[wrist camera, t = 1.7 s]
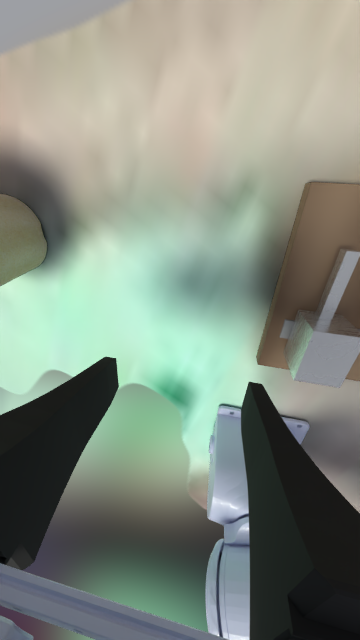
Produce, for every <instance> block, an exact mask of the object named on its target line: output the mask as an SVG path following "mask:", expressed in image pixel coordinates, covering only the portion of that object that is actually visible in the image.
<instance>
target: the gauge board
mask: <svg viewBox="0 0 360 640" xmlns="http://www.w3.org/2000/svg"><path fill="white" fill-rule="evenodd" d="M340 249H349V250H356V251H359V252H360V185H357V184H338V183H320V182H310V183H307V184H305V187H304V191H303V194H302V198H301V201H300V205H299V208H298V212H297V215H296V219H295V222H294V226H293V229H292V233H291V236H290V240H289V243H288V247H287V251H286V254H285V258H284V261H283V265H282V268H281V272H280V275H279V279H278V282H277V286H276V289H275V293H274V296H273V300H272V303H271V307H270V310H269V314H268V317H267V321H266V324H265V328H264V331H263V335H262V338H261V342H260V346H259V349H258V353H257V356H256V357H257V362H258V365H264V366H270V367H276V368H282V369H288V370H290V369H289V367H288V364H287V362H286V359H285V357H284V354H283V352H284V349H285V347H286V344H287V341H288V338H289V335H290V332H291V330H292V327H293V324H294V321H295V318H296V315H297V313H298V310H306V311H314V312H316V310H317V307H318V305H319V302H320V300H321V297H322V295H323V292H324V290H325V287H326V285H327V282H328V279H329V277H330V274H331V272H332V269H333V267H334V264H335V262H336V259H337V257H338V254H339V252H340ZM334 314H337V315H343V316H344V317H345V318H346V319H347V320H348V321H349V322H350V323H351V324H352V325H353V326H354V327H355V328H357V329H358V330H359V331H360V257H359V259H358V261H357V264H356V266H355V268H354V270H353V273H352V275H351V277H350V279H349V282H348V284H347V286H346V288H345V291H344V293H343V295H342V297H341V300H340V302H339V304H338V306H337V309H336V311H335V313H334ZM345 379H350V380H356V381H360V353H359V354H358V356H357V358H356V360H355V362H354V363H353V365H352V367H351V369H350V371H349V372H348V374H347V376H346V378H345Z"/></svg>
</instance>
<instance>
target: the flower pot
mask: <svg viewBox="0 0 360 640" xmlns="http://www.w3.org/2000/svg"><path fill="white" fill-rule="evenodd" d="M46 252H47V242H46V240H45V238H44V236H43V232H42V228H41V223H40V221H39V220H38V218H37V217H36V215H35V214H34V213H33V212H32V210H31V209H30V208H29V207H28V206H26V205H25V204H24V203H22V202H21V201H20V200H18V199H16V198H14V197H12V196H9V195H5V194H0V286H2V285H4V284H6V283H7V282H9V281H11V280H13V279H15V278H17V277H19V276H21V275H23V274H25V273H26V272H28V271H30V270H32V269H34V268H36V267H38V266H39V265H40V264H41V263H42V262H43V261H44V259H45V256H46Z"/></svg>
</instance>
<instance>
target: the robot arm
mask: <svg viewBox="0 0 360 640" xmlns="http://www.w3.org/2000/svg"><path fill="white" fill-rule="evenodd" d="M118 387H119V385H118V374H117V364H116V358H110V357H104V358H103V359H101V360H99V361H98V362H96V363H95V364H93V365H92V366H90V367H89V368H87V369H86V370H84V371H83V372H81V373H80V374H78V375H76V376H75V377H73V378H72V379H70V380H69V381H67V382H65V383H64V384H62V385H60V386H58V387H57V388H55V389H53V390H52V391H50V392H48V393H46V394H45V395H43V396H41V397H39V398H37V399H35V400H33V401H31V402H29V403H27V404H25V405H22V406H20V407H18V408H16V409H13V410H11V411H9V412H6V413H4V414H2V415H0V563H1V564H0V605H1V606H4V607H6V608H9V609H12V610H15V611H18V612H20V613H23V614H26V615H29V616H32V617H35V618H37V619H40V620H43V621H46V622H48V623H51V624H54V625H56V626H60V627H62V628H65V629H68V630H70V631H73V632H76V633H79V634H81V635H84V636H87V637H90V638H93V639H95V640H360V513H359V512H358V511H357V510H356V509H355V508H354V507H353V506H352V505H351V504H350V503H349V502H348V501H347V500H346V499H345V498H344V497H343V495H342V494H341V493H340V492H339V491H338V490H337V489H336V488H335V487H334V486H333V484H332V483H331V482H330V481H329V480H328V479H327V478H326V477H325V475H324V474H323V473H322V472H321V471H320V470H319V468H318V467H317V466H316V465H315V463H314V462H313V461H312V460H311V458H310V457H309V456H308V455H307V453H306V452H305V451H304V449H303V448H302V447H301V443H302V441H303V439H304V437H305V435H306V433H307V431H308V429H309V424H308V423H307V422H305V421H301V420H296V419H290V418H285V417H281V416H280V414H279V413H278V411H277V409H276V408H275V406H274V404H273V403H272V401H271V399H270V397H269V396H268V394H267V392H266V390H265V388H264V387H263V385H262V384H259V383H253V382H249V383H248V387H247V390H246V394H245V397H244V401H243V404H242V408H241V409H238V408H233V407H228V406H220V407H219V408H218V412H217V417H216V422H215V426H214V431H213V435H211V437H210V445H209V453H210V467H209V483H208V500H207V515H208V516H207V517H208V519H210V520H212V521H215V522H217V523H219V524H221V525H223V526H224V539H220V540H218V541H217V543H216V544H215V547H214V549H213V552H212V554H211V556H210V560H209V563H208V569H207V576H206V614H207V624H208V630H209V633H208V632H204V631H202V630H199V629H195V628H193V627H190V626H186V625H183V624H181V623H178V622H175V621H171V620H169V619H166V618H162V617H160V616H157V615H153V614H150V613H147V612H144V611H141V610H138V609H135V608H132V607H129V606H126V605H123V604H120V603H117V602H114V601H111V600H108V599H105V598H102V597H99V596H96V595H93V594H90V593H87V592H84V591H81V590H78V589H75V588H72V587H69V586H66V585H63V584H60V583H57V582H54V581H51V580H48V579H45V578H42V577H39V576H36V575H33V574H30V573H26V572H24V571H21V570H23V569H25V568H27V567H28V566H30V565H31V564H32V563H33V562H34V561H35V558H36V556H37V553H38V551H39V548H40V546H41V543H42V541H43V538H44V536H45V533H46V531H47V529H48V526H49V524H50V521H51V519H52V517H53V514H54V512H55V510H56V507H57V505H58V503H59V501H60V498H61V496H62V494H63V492H64V489H65V487H66V485H67V483H68V481H69V479H70V476H71V474H72V472H73V470H74V468H75V466H76V464H77V462H78V460H79V458H80V456H81V454H82V452H83V450H84V448H85V446H86V445H87V443H88V441H89V440H90V438H91V436H92V435H93V433H94V431H95V430H96V428H97V426H98V425H99V423H100V421H101V420H102V418H103V416H104V415H105V413H106V411H107V410H108V408H109V406H110V405H111V403H112V400H113V398H114V396H115V394H116V392H117V389H118ZM3 564H5V565H3ZM6 565H7V566H6ZM9 566H10V567H9ZM12 567H13V568H12ZM15 568H16V569H15ZM18 569H19V570H18ZM0 640H33V636H32V635H30V634H28V633H26V632H25V631H23V630H22V629H20V628H19V627H18V626H16V625H15V624H14V622H13V621H11V620H9V619H7V618H4V617H2V616H0Z"/></svg>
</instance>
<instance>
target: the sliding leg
mask: <svg viewBox="0 0 360 640" xmlns="http://www.w3.org/2000/svg"><path fill="white" fill-rule="evenodd" d="M359 257H360V252H359V251H356V250H349V249H340V252H339V254H338V257H337V259H336V262H335V264H334V267H333V269H332V272H331V274H330V277H329V279H328V282H327V285H326V287H325V290H324V292H323V295H322V297H321V300H320V302H319V305H318V307H317V310H316V312H314V311H306V310H298V313H297V315H296V318H295V321H294V324H293V327H292V330H291V332H290V335H289V338H288V341H287V344H286V347H285V349H284V352H283V354H284V357H285V359H286V362H287V364H288V367H289V369H290V372H291V375H292V377H293V380H296V381H302V382H308V383H314V384H320V385H326V386H332V387H338V388H340V387H341V385H342V383H343V381H344V380H345V378H346V376H347V374H348V372H349V371H350V369H351V367H352V365H353V363H354V362H355V360H356V358H357V356H358V354H359V353H360V331H359V330H358V329H357V328H355V327H354V326H353V325H352V324H351V323H350V322H349V321H348V320H347V319H346V318H345V317H344V316H343V315H337V314H334V313H335V311H336V309H337V306H338V304H339V302H340V300H341V297H342V295H343V293H344V291H345V288H346V286H347V284H348V282H349V279H350V277H351V275H352V273H353V270H354V268H355V266H356V264H357V261H358V259H359Z"/></svg>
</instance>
